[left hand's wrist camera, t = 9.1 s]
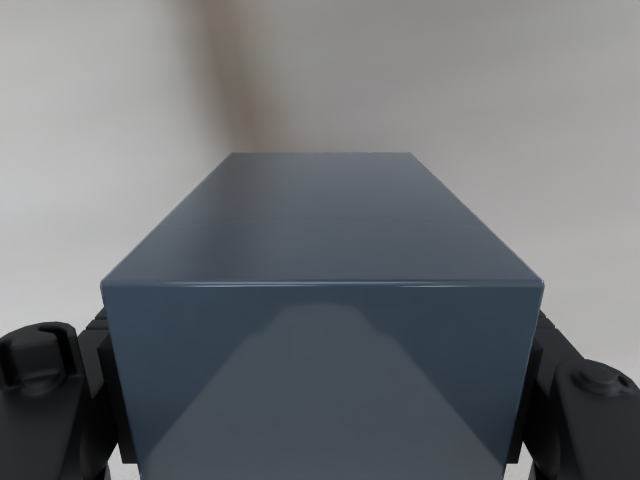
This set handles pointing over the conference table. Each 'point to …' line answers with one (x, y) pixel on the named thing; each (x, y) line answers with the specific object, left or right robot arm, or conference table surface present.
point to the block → (321, 326)
